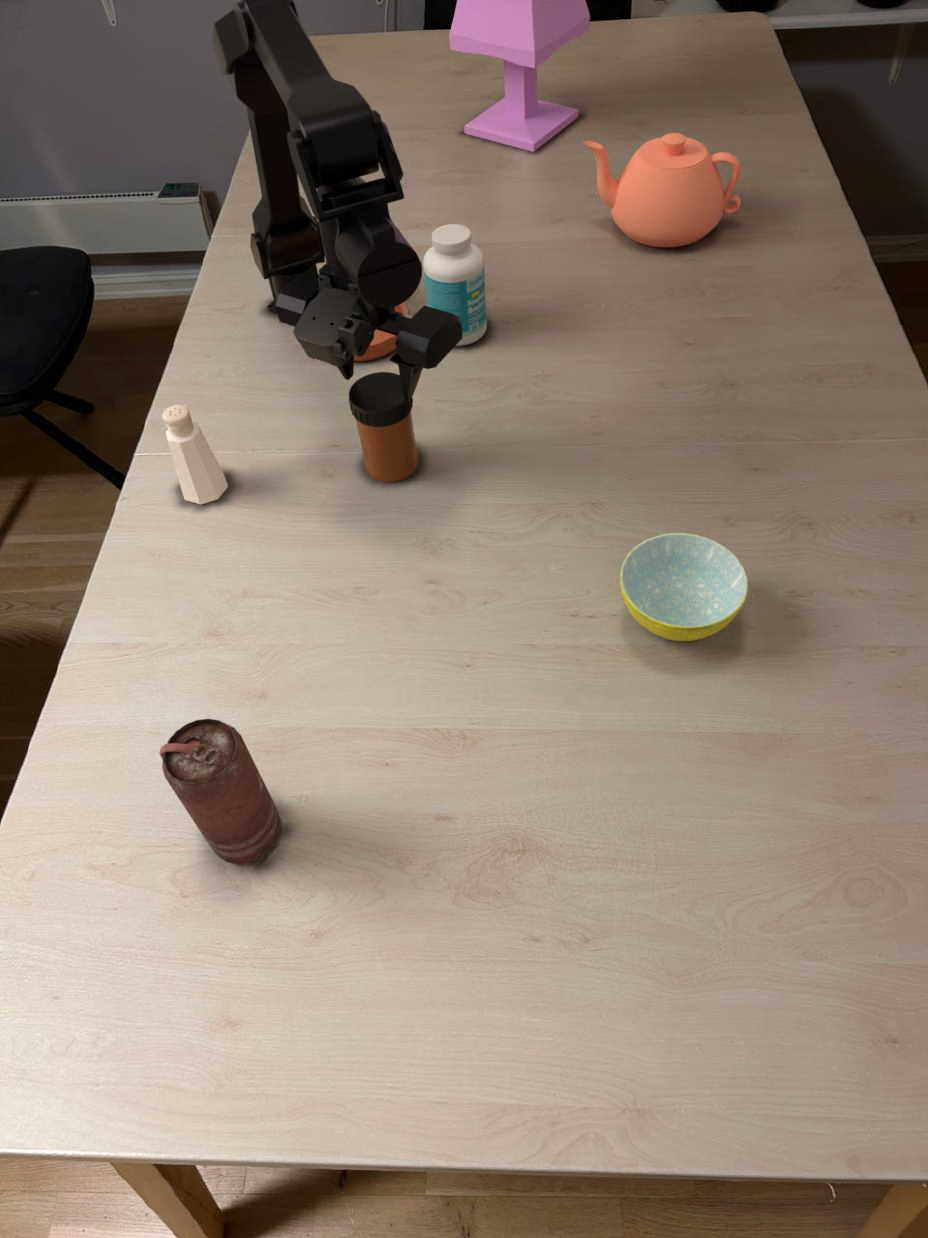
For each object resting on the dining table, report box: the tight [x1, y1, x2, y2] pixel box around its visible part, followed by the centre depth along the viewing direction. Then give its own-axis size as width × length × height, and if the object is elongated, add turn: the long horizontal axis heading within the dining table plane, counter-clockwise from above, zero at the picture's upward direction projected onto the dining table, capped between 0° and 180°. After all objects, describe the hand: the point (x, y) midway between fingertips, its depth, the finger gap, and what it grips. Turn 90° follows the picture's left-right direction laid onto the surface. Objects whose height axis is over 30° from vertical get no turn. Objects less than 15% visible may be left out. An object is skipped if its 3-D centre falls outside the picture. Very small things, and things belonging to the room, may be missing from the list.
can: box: [158, 718, 282, 865], centre depth 74 cm, size 6×6×14 cm
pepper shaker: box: [162, 404, 229, 505], centre depth 102 cm, size 5×5×11 cm
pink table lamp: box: [448, 0, 591, 153], centre depth 142 cm, size 16×16×35 cm
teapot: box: [582, 132, 742, 248], centre depth 129 cm, size 22×16×12 cm
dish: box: [354, 302, 410, 362], centre depth 121 cm, size 12×12×2 cm
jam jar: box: [355, 411, 419, 483], centre depth 103 cm, size 6×6×10 cm
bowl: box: [619, 532, 749, 642], centre depth 88 cm, size 11×12×6 cm
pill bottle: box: [422, 223, 488, 347], centre depth 116 cm, size 8×7×14 cm
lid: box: [348, 371, 414, 427], centre depth 99 cm, size 7×7×2 cm
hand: (378, 387), depth 98 cm, fingers open, 7 cm apart
